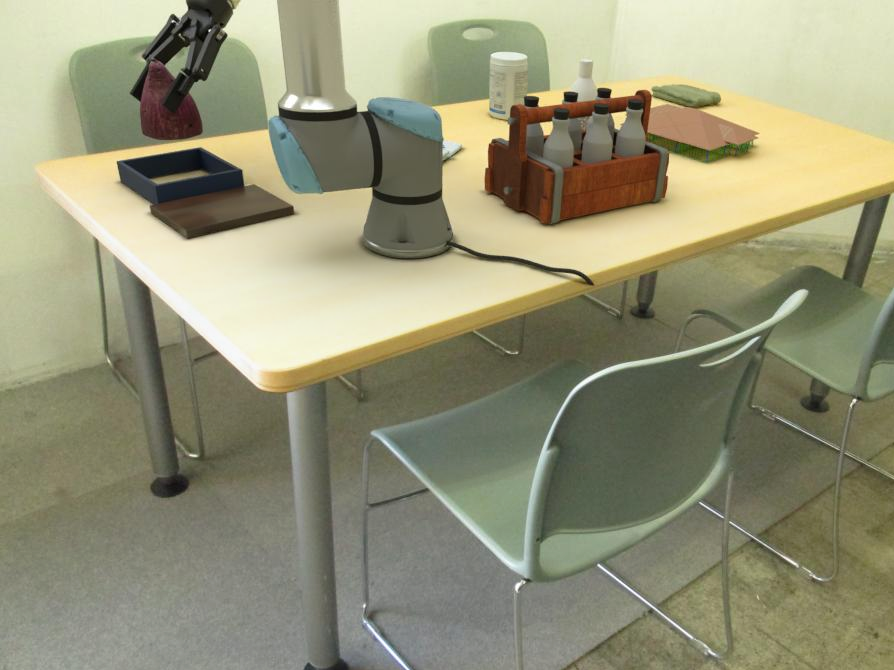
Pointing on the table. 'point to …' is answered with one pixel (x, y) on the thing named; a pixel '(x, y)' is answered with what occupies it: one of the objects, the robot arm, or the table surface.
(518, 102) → the supplement tub
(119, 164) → the square frame
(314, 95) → the robot arm
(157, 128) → the vegetable
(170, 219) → the cutting board
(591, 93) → the bath foam
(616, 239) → the table surface
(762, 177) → the table surface
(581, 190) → the milk bottle holder
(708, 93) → the washcloth
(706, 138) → the house
